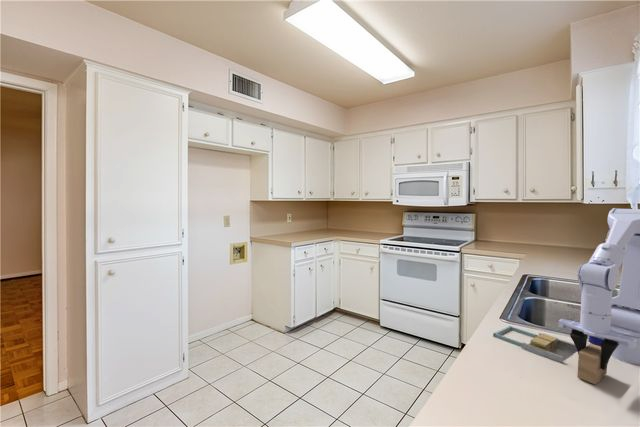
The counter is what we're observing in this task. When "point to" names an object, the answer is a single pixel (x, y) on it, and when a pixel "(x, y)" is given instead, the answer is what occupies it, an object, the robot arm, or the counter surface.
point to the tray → (498, 335)
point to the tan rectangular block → (590, 364)
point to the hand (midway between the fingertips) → (592, 364)
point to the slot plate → (553, 350)
